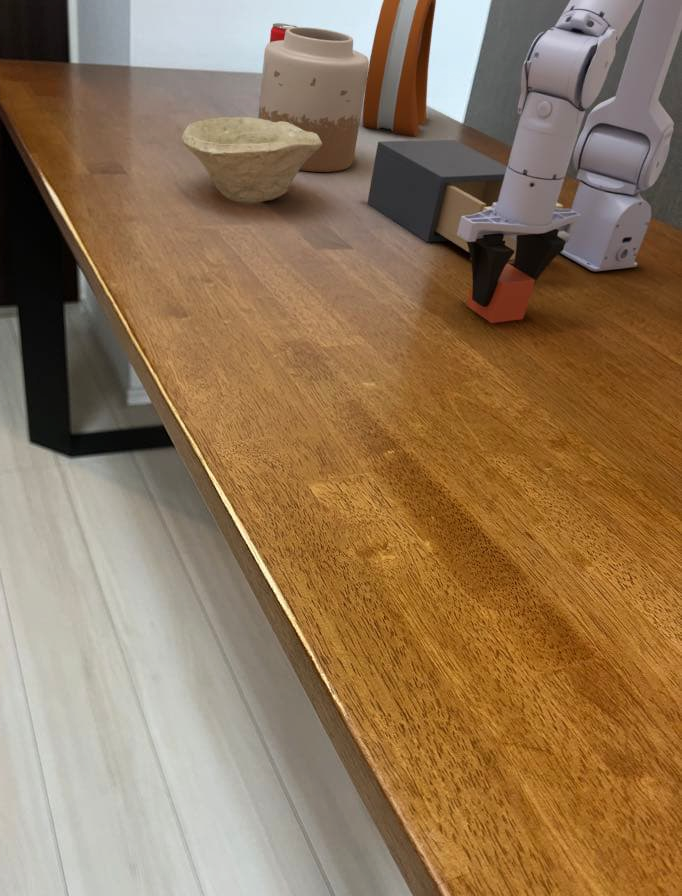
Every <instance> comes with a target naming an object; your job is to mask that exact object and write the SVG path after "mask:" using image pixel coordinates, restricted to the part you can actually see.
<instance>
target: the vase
mask: <svg viewBox="0 0 682 896" xmlns="http://www.w3.org/2000/svg"><path fill="white" fill-rule="evenodd" d="M262 62H263V63H262V72H261V83H260V95H259V107H258V117H257V118H259V119H264V120H269V121H272V122H279V121H284V122H288V123H290V124H292V125H295V126H296V127H298V128H300V129H302V130H304V131H307V132H313V133H316V134H317V135H318V136H319V138H320V140H321V142H322V145H321V147H320V148H319V149H318V150H316V151H315V152H314V153H313V154H312V155H311V156H310V157H309V158H308V159H307V160H306V161H305V162H304V163H303V165H302V166H301V168H300V169H299V171H305V172H315V173H331V172H339V171H343V170H346V169H348V168H350V167H351V166H352V164H353V162H354V159H355V153H356V147H357V141H358V134H359V129H360V124H361V123H360V122H361V116H362V112H363V104H364V96H365V88H366V81H367V75H368V68H369V62H370V60H369V59H368V57H367V56H366V55H365V54H363V53H361V52H360V51H357V50H354V37H352V36H350V35H348V34H346V33H343V32H339V31H335V30H331V29H324V28H318V27H308V26H307V27H306V26H297V27H292V28H288V29H287V30H286V32H285V37H284V40H280V41H273V42H270V41H269V43H267V44H266V45H265V48H264V51H263V61H262Z"/></svg>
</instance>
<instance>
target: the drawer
mask: <svg viewBox="0 0 682 896" xmlns="http://www.w3.org/2000/svg"><path fill="white" fill-rule="evenodd" d="M502 184H503V181H482V182H461V183H445V188H444V192H443V197H442V201H441V205H440V210H439V214H438V218H437V223H436V227H435V231H436V232H437V233H439V234H441V235H442V236H444V237H445V238H447V239H449V240H450V241H449V242H452V243H453V244H455V245H456V246H458V247H460V248H461V249H463V250H464V251H466V252H468V253H470V252H469V248H468V245H467V242H466V240H464V239H463V238H461V237H459V236H458V235H457V232H458V228H459V224H460V220H461V216H467V215H473V214H476V213H479V212H482V211H485V210H488V209H491V208H492V205H493V203H495V202H498V198H499V195H500V191H501V187H502ZM563 207H564V205H563V204H561V203H559V202H557V204H556V207H555V209H564V208H563ZM557 236H558V237H560V238H562V239H564V240H565V241H566V243H567V242H568V241H569V233H566V232H565V231H561V232H558V235H557ZM503 241H505V245H506V246H508V247H509V248H511V249H513V250H514V251H515V252H514V254H513V255H512V256H511V258H510V259H509V261H512V260H514V261H515V254H516V241H517V235H513V236H504V238H503ZM566 243H565V244H566Z"/></svg>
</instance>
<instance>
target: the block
mask: <svg viewBox="0 0 682 896" xmlns="http://www.w3.org/2000/svg"><path fill="white" fill-rule="evenodd" d="M513 266H514V265H511V264H510V263H507V264H506V265H505V267H504V269H503V271H502V273H501V275H500V277H499V280H498V283H497V286H496V289H495V292H494V295H493V297H492V299H491V301H490V303H489V305H488V306H486V307H482V306H481V305H479V304H478V303H476V302H475V301H474V300H472V289H473V282H472V284H471V287H470V291H469V295H468V299H467V302H466V307H467V308H469V309H470V310H471V311H473V312H474V313H476V314H477V315H479V316H480V317H481V318H483V319H484V320H486V321H487V322H488V323H490V324H498V323H505V322H512V321H519V320H523V319H524V317H525V314H526V312H527V308H528V304H529V301H530V298H531V295H532V292H533V288H534V286H535V284H536V282H535V280H534V279H533V278H531V277H529V276H528V275H526V274H525V273H523V272H521V271H520V270H518V269H517V268H515V267H513ZM534 283H535V284H534Z"/></svg>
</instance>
